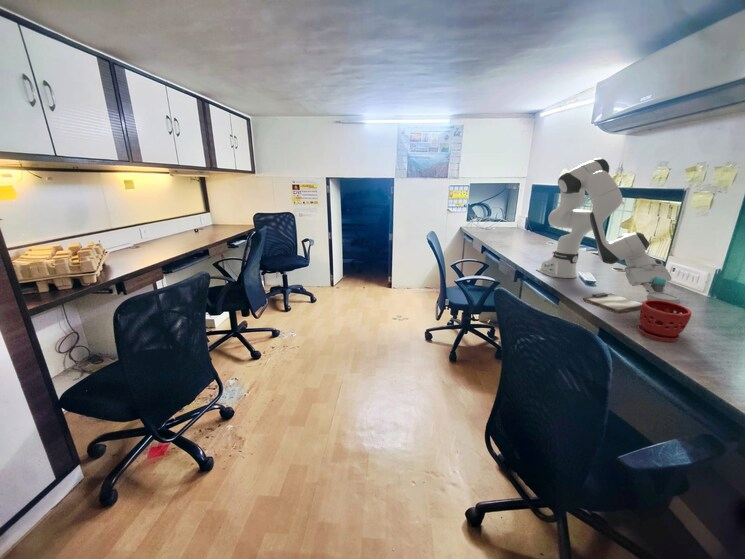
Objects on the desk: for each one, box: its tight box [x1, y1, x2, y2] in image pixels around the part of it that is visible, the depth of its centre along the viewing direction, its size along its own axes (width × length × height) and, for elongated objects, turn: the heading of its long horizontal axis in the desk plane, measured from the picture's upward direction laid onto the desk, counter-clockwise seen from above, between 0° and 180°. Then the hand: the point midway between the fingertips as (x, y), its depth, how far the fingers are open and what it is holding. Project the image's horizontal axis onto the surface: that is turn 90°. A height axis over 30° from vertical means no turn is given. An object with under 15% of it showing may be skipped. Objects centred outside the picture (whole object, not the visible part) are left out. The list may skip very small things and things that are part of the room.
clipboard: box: [582, 292, 643, 314], centre depth 144 cm, size 16×19×2 cm
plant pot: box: [636, 299, 692, 343], centre depth 112 cm, size 13×13×12 cm
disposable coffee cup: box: [646, 292, 680, 312], centre depth 122 cm, size 10×10×12 cm
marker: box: [652, 277, 667, 293], centre depth 139 cm, size 4×4×13 cm
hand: (658, 292), depth 138 cm, fingers closed on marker, 4 cm apart
